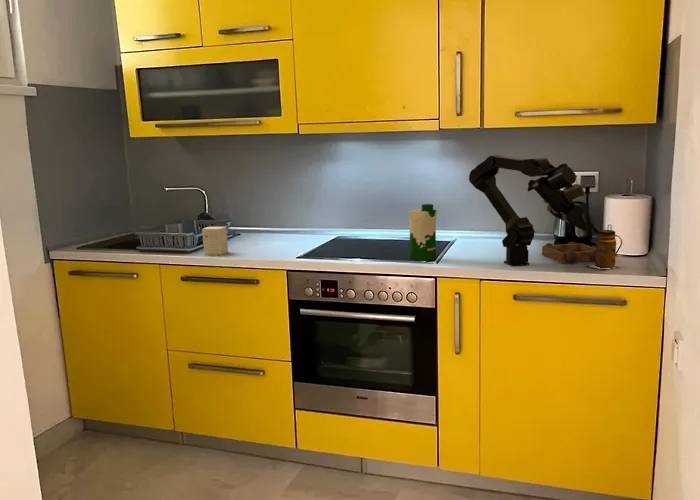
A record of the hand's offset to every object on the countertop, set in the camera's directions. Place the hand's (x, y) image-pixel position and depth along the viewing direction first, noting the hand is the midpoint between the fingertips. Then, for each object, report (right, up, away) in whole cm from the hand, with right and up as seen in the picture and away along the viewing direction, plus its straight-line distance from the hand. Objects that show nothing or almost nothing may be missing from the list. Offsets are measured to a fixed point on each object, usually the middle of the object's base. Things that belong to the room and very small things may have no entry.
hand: (581, 227), depth 201 cm
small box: (-128, -9, +47) cm, 137 cm away
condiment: (+8, -13, +2) cm, 15 cm away
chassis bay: (+3, -10, +18) cm, 20 cm away
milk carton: (-49, -11, +23) cm, 55 cm away
